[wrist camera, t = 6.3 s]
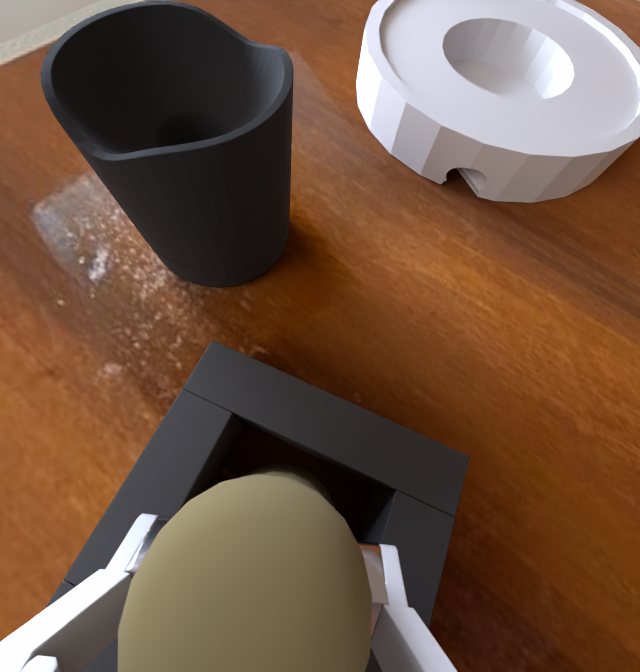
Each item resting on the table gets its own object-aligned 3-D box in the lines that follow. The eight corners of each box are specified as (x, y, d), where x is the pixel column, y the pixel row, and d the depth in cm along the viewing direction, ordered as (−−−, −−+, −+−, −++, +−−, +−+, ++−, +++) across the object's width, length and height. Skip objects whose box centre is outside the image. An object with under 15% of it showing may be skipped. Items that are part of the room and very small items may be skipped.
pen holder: (276, 173, 24) (265, -7, 15) (309, 279, 21) (320, 132, 12) (145, 193, 23) (42, 6, 14) (158, 310, 20) (36, 169, 10)
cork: (358, 571, 15) (481, 773, 5) (231, 633, 14) (67, 1053, 4) (313, 444, 17) (338, 411, 7) (199, 490, 16) (35, 525, 6)
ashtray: (511, 13, 35) (537, -40, 32) (668, 162, 28) (725, 115, 24) (314, 48, 30) (317, -10, 27) (441, 237, 23) (468, 194, 19)
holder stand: (347, 763, 13) (368, 883, 9) (83, 614, 14) (7, 667, 10) (433, 458, 17) (470, 456, 14) (228, 364, 19) (211, 339, 15)
